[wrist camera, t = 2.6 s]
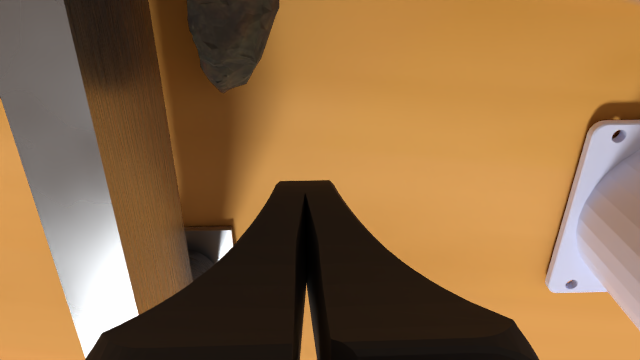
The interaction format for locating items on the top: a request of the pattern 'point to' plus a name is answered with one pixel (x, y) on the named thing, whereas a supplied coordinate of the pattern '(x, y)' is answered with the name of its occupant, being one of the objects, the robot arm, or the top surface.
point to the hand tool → (230, 37)
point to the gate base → (210, 241)
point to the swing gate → (97, 154)
